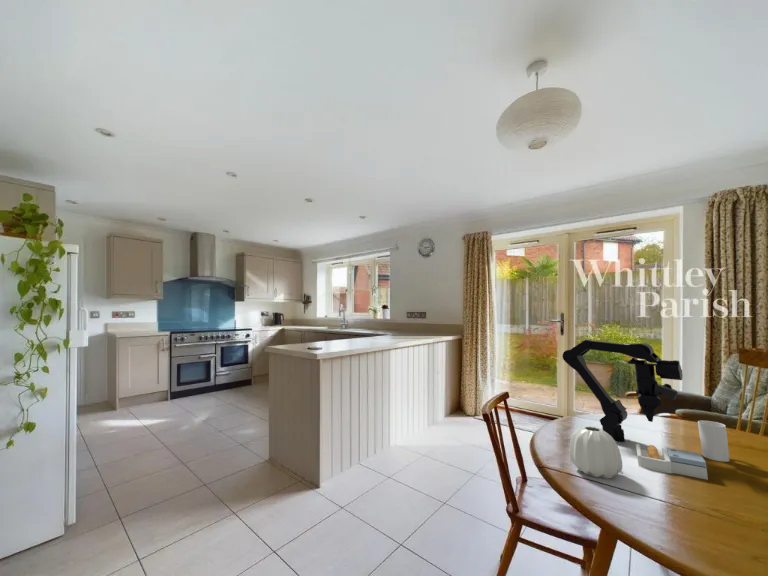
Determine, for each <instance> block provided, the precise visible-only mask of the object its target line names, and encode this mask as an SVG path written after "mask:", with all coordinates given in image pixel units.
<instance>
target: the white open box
mask: <svg viewBox="0 0 768 576" xmlns="http://www.w3.org/2000/svg"><path fill="white" fill-rule="evenodd" d="M635 447H636V448H635V450H636V456H637V464H638V468H643V469H647V470H652V471H657V472H662V473H667V474H670V475H671V474H678V475H681V476H687V477H693V478H698V479H703V480H709V477H708V468H707V466H706V467H703V466H697V465H692V464H687V463H681V462H676V461H670V458H669V456H668V453H667V448H663V447H661V452H659V451H658V454H659V459H654V458H650V457H649V455H648V451H647V449H641V445H640V444H639V443H635Z"/></svg>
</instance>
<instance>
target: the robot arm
mask: <svg viewBox="0 0 768 576" xmlns="http://www.w3.org/2000/svg"><path fill="white" fill-rule="evenodd" d="M590 350H594V351H601V352H602V351H603V352H609V353H616V354H623V355H626V356H628V357H631V359H630V360H629V361H628V362H627V364H629V365H634V370H635V371H634V372H635V383H636V388H635V395H636V398H637V402H638V405H639V406H640V408H641V411H643V414H644V416H645V417H646V419H647V421H648V422H650V423H653V420H654V416H655V410H656V408H659V407H662V400H661V398H660V397H659V396H663V397H666V398H667V399H670V400H672V401H675V400H676V398H677V395H678V393H679V392H678V391H677V390H676V389H674V388H672V385H671V384H668V383H664V384H663V385H662V384H659V383H658V380H656V375H657V376H658V377H660V379H666V380H674V381H675V380H676V381H683V369H682V366H681V364H680V361H679V360H674V359H673V360H665V359H662V358H660V357H659V355H657V354H656V352H655V351H654V348H653V346H651V345H650V344H648V343H647V342H646V343H644V342H642V343H641V342H638V343H637V342H635V343H619V342H618V343H617V342H609V341H600V340H592V339H583V340H581V342H579V344H577V345H575V346H573V347H572V348H570V349H567V350H564V351H563V353H562V360H563V361H564V362H565V363H566V364H567V365H568V366H569V367H570V368H572V369H573V370H574V371H576V372H577V374H578V375H579V376H580V378H581V379H582V381H583V382H584V383H585V385H587V387H588V388H589V390H590V391H591V392H592V393H593V395H594V397H595V398H596V400H597V401H598V402H599V405H600V407H601V410H602V411H603V414H604V416H603V417H601V418H600V419H599V423H600V425H601V426H602V427H601V429H602V430H603V431H605V432H607V433H608V434H609V435H610V436H612V437H613V439H614V440H615V442H616V443H617V442H623V443H625V441H626V439H625V430H624V429H623V428H622V427H623V426H622V424H623V422H624V421H625V420H626V419H627V418H628V411H627V408H626V407H625V406H624V405H623V403H622V402H621V400H620V399H617V400H615V399H614V398H612V397H611V396H610V395H609V393H608V392H607V391H606V389H605V388H604V387H603V385H602V384H601V382H600V381H599V380H598V379H597V378H596V376H595V375H594V374H593V372H592V371H591V370H590V369H589V367H588V366H587V362H586V360H585V359H586V358H585V357H584V355H586V354H587V353H588V352H589V351H590Z"/></svg>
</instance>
